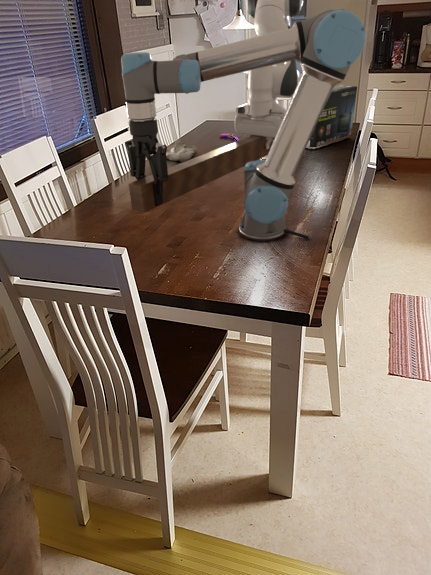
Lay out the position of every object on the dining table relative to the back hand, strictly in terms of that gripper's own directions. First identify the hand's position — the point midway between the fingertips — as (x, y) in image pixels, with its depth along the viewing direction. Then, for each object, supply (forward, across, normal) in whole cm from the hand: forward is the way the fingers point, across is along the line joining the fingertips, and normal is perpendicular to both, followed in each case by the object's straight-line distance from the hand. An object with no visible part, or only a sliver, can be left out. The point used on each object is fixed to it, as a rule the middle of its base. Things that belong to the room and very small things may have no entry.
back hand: (259, 147), depth 172 cm
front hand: (+2, 0, +59) cm, 59 cm away
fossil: (+18, +62, -24) cm, 69 cm away
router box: (+18, +11, -85) cm, 88 cm away
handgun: (+19, +60, -68) cm, 92 cm away
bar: (+3, 0, +30) cm, 30 cm away
